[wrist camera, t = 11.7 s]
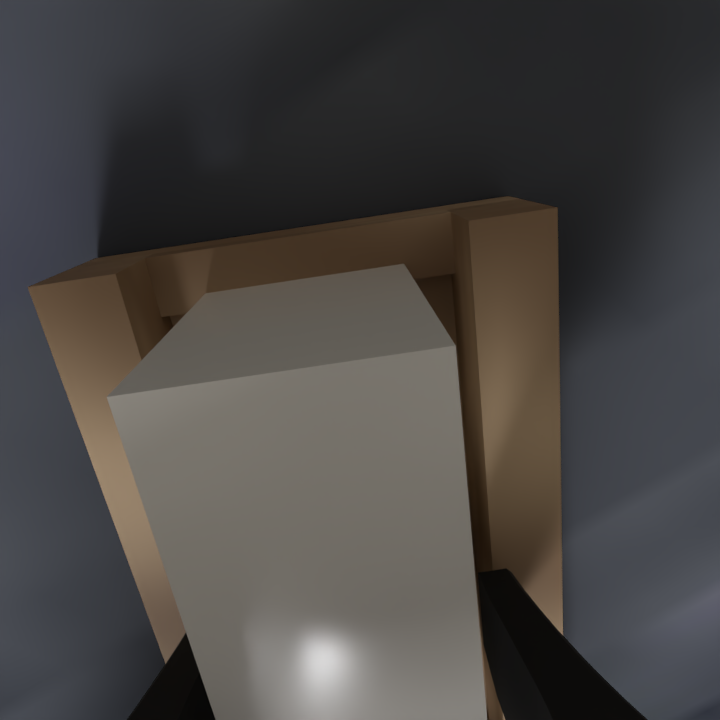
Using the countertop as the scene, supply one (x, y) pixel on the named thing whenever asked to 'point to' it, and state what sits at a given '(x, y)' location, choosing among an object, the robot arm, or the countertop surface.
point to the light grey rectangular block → (313, 499)
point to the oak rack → (332, 256)
